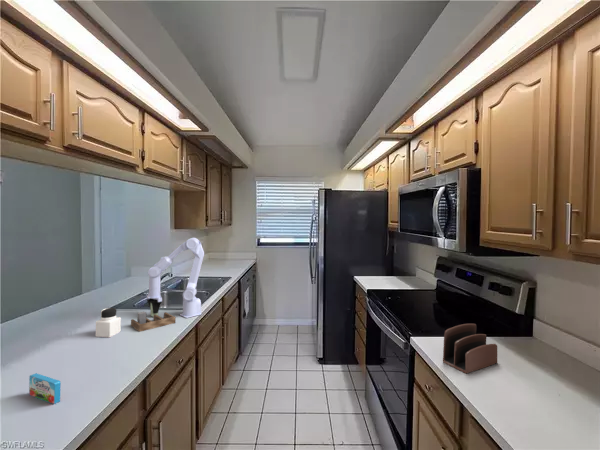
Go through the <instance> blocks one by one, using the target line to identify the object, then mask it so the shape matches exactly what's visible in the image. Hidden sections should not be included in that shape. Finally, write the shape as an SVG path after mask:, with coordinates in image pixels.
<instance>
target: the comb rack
mask: <svg viewBox="0 0 600 450" xmlns="http://www.w3.org/2000/svg"><path fill="white" fill-rule="evenodd" d="M175 323H176V316H174V315H173V314H170V313H168V312H163V318H162V317H161V316H159V315H158V316H157V315H156V314H155V315H154V317H153V320H151V319H149V318H147V317H146V323H144V324H140V323H138V322H137V321H136V320H135V319H131V320H130V326H131V327H132V328H134V329H135V330H136V331H138V332H144V331H147V330H152V329H156V328H160V327H164V326H167V325H169V326H170V325H172V324H175Z"/></svg>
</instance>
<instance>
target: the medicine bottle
mask: <svg viewBox="0 0 600 450" xmlns="http://www.w3.org/2000/svg"><path fill="white" fill-rule="evenodd" d="M121 326H122V318H121V316H120V317H118V316H117V308H115V307H107V308H104V309H102V310H101V311H100V319H99V320H96V321H95V337H96V338H112V337H114V336H115V335H117V334H119V333H121V331H122V330H121Z"/></svg>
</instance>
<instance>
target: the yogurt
mask: <svg viewBox="0 0 600 450" xmlns="http://www.w3.org/2000/svg"><path fill="white" fill-rule="evenodd" d="M28 377H29V378H28V379H29V383H28V385H29V386H28V387H29V388H28V390H29V391H28V393H29V396H30V397H33V398H36V399H38V400H41V401H44V402H46V403H49V404H52V405H56V404H58V403H60V402H61V383H62V382H61V381H60V380H59V379H55V378H52V377H51V376H50V377H49V376H46V375H43V374H40V373H37V372H36V373H33V374H30V375H29V376H28Z"/></svg>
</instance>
